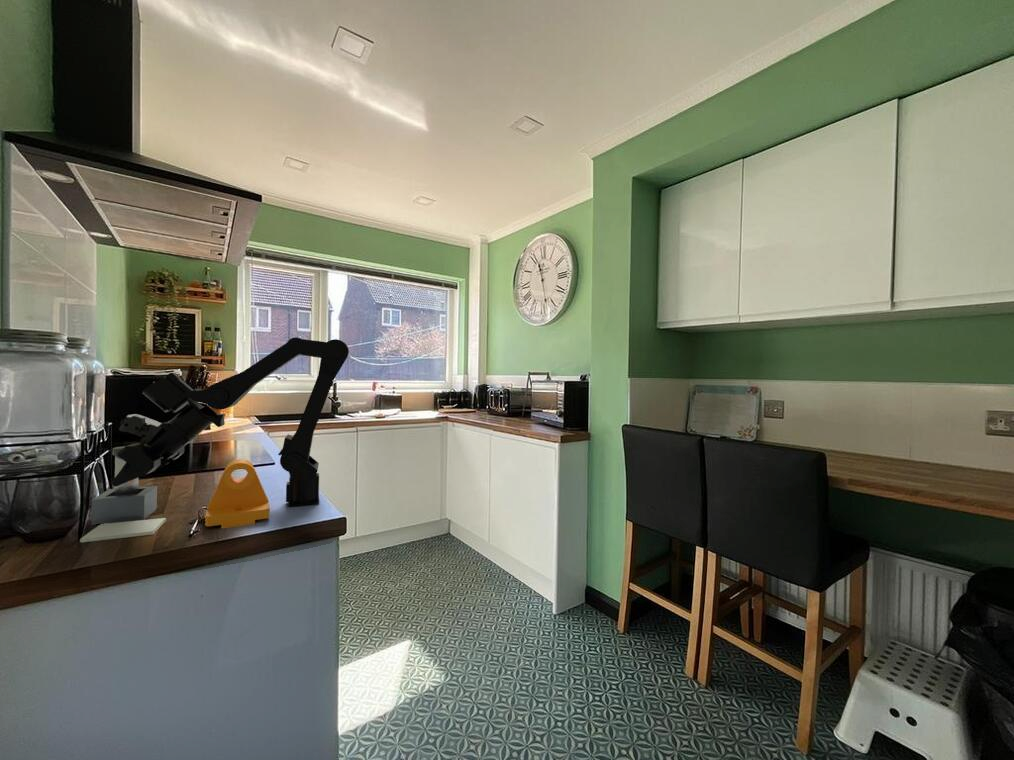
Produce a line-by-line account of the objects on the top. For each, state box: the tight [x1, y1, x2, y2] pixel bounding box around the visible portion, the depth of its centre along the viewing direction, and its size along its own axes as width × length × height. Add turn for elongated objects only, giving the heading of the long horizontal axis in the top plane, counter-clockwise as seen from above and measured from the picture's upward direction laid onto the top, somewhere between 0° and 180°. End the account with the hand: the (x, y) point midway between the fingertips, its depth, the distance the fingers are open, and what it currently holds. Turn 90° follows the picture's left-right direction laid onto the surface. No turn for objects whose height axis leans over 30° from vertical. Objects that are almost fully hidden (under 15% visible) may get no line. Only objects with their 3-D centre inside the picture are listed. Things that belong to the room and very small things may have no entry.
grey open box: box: [90, 485, 158, 526], centre depth 86 cm, size 8×8×5 cm
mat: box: [79, 517, 167, 543], centre depth 79 cm, size 10×8×1 cm
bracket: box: [204, 458, 271, 529], centre depth 86 cm, size 11×7×12 cm, turn 122°
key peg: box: [112, 445, 139, 496], centre depth 86 cm, size 4×4×12 cm
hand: (118, 482), depth 86 cm, fingers closed on key peg, 4 cm apart
